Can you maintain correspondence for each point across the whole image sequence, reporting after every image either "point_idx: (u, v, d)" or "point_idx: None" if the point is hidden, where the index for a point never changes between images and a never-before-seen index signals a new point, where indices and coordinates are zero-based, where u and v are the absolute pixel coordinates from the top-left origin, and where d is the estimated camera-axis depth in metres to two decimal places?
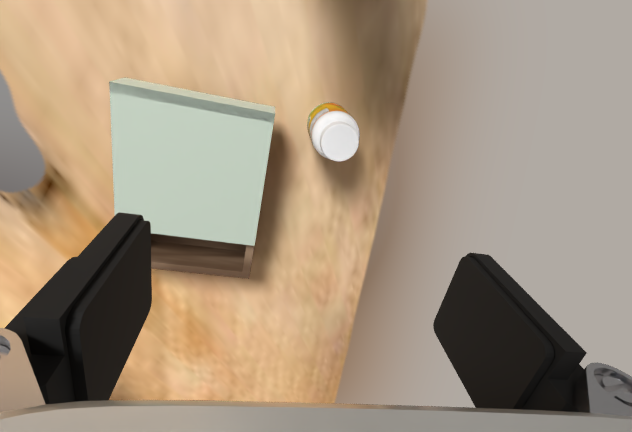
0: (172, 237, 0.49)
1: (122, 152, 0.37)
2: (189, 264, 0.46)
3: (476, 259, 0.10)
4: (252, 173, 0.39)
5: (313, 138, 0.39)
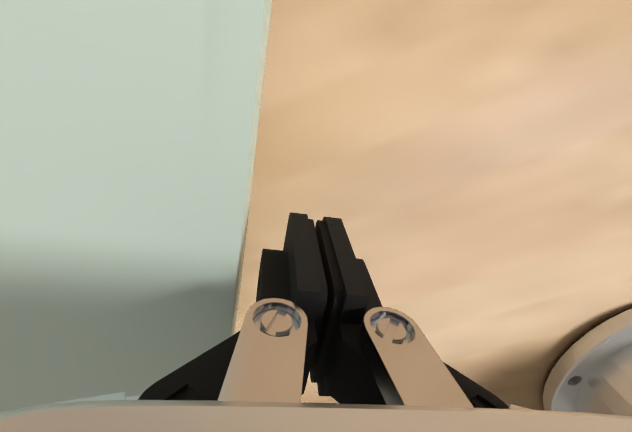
0: None
1: None
2: None
3: (325, 222, 0.11)
4: None
5: None
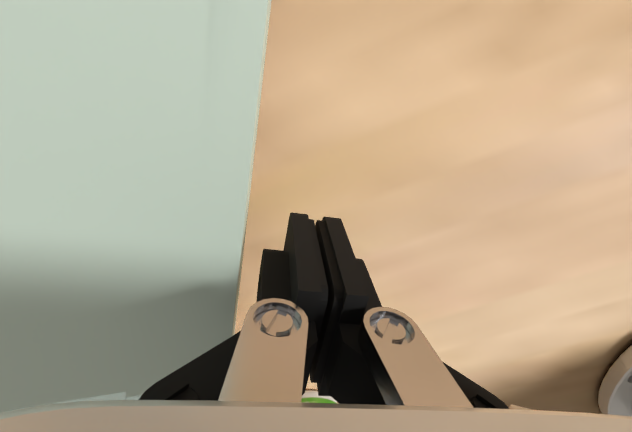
0: None
1: None
2: None
3: (325, 222, 0.11)
4: None
5: None
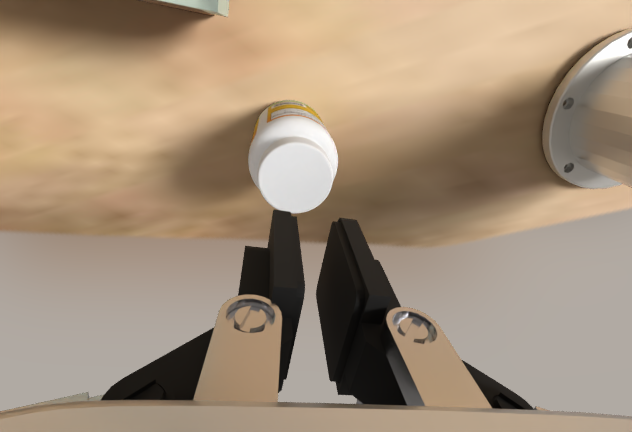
0: None
1: None
2: None
3: (341, 223, 0.11)
4: None
5: (290, 121, 0.19)
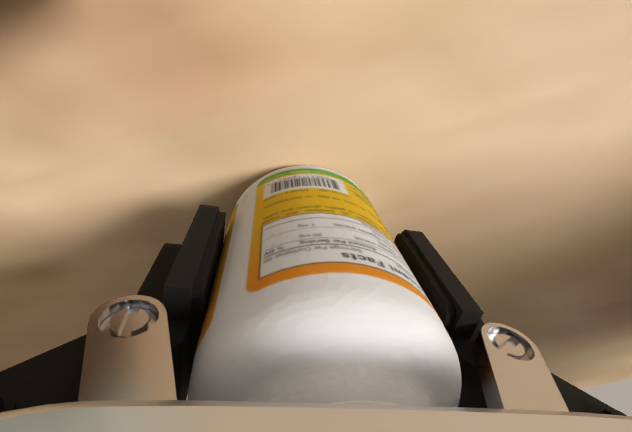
0: None
1: None
2: None
3: (408, 235, 0.11)
4: None
5: (324, 309, 0.06)
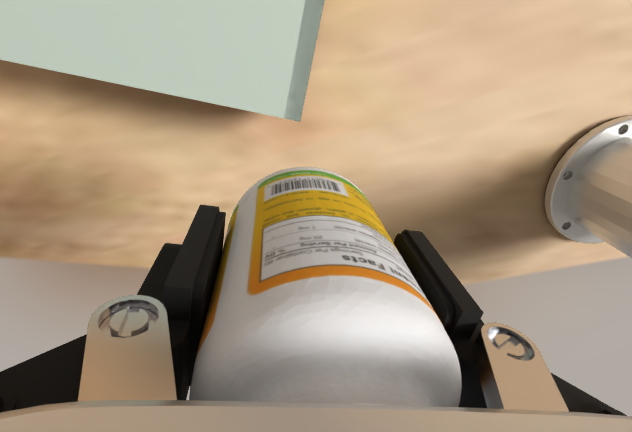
0: None
1: None
2: None
3: (408, 235, 0.11)
4: (185, 71, 0.20)
5: (325, 312, 0.06)
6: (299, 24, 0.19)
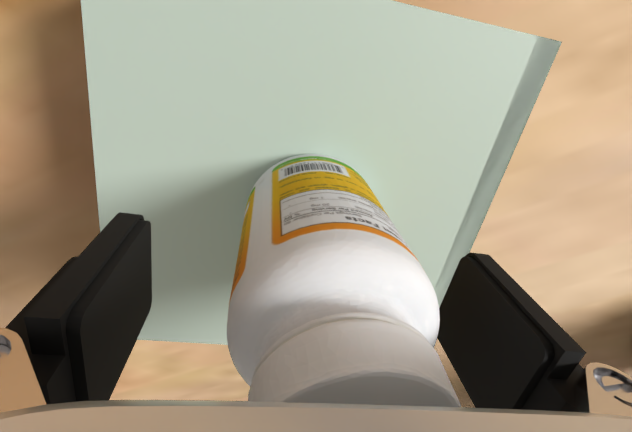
0: None
1: (375, 31, 0.12)
2: None
3: (476, 259, 0.10)
4: None
5: (333, 253, 0.07)
6: (436, 279, 0.17)
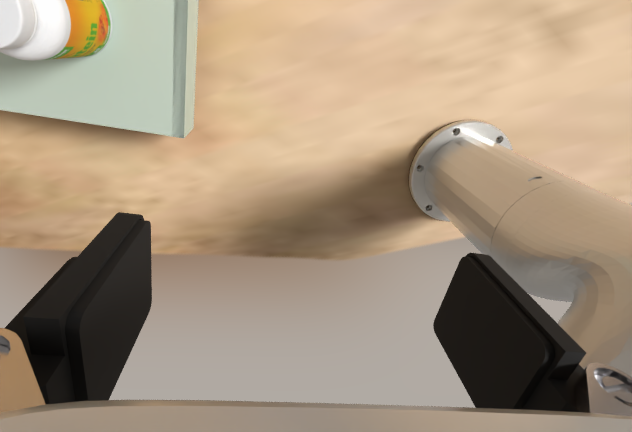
0: None
1: None
2: None
3: (476, 259, 0.10)
4: (97, 107, 0.29)
5: None
6: (171, 73, 0.28)
